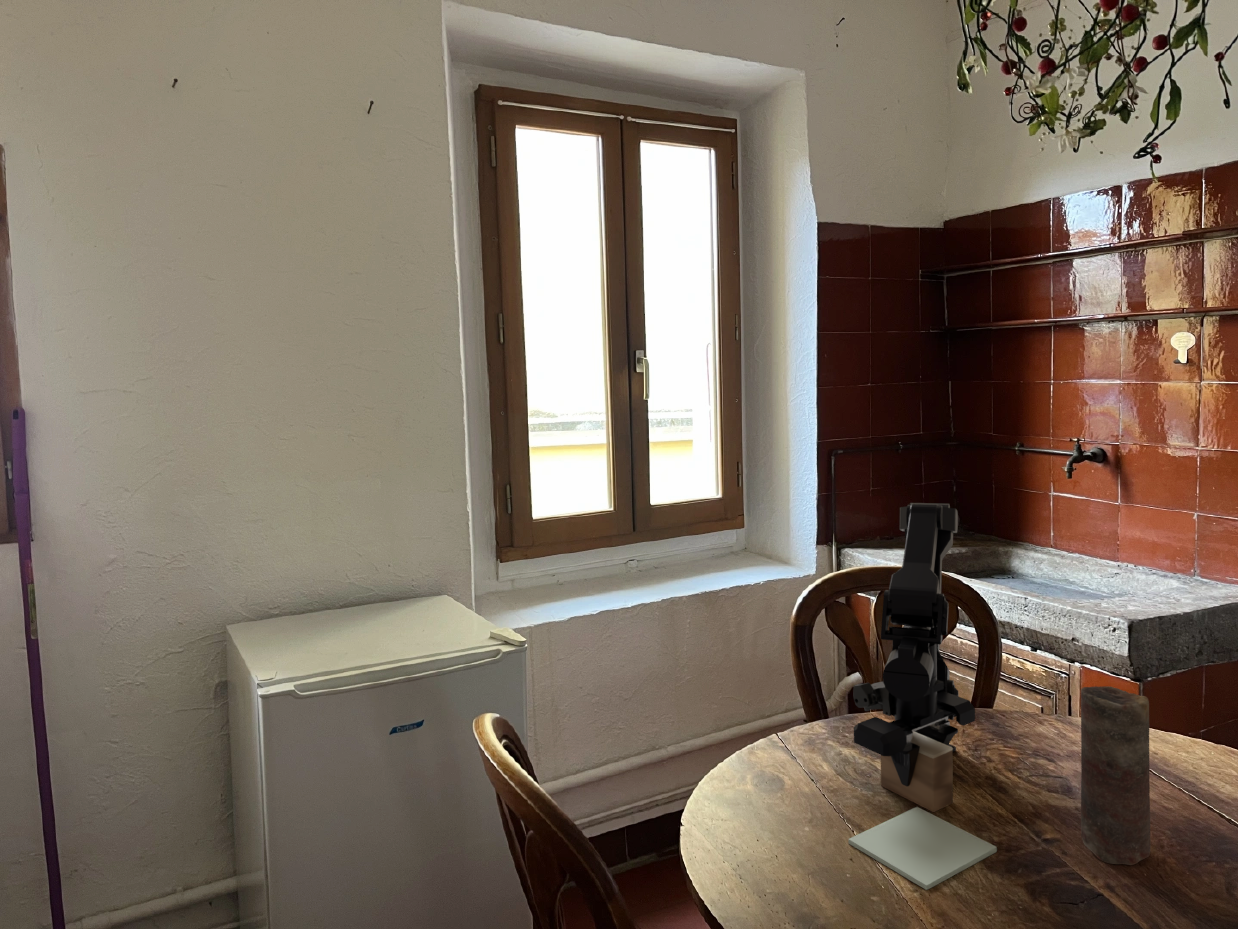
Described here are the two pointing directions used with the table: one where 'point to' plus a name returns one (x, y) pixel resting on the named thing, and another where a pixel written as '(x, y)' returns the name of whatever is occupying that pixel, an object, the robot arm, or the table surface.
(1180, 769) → the table surface
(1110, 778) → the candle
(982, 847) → the sage mat
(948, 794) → the walnut slab
